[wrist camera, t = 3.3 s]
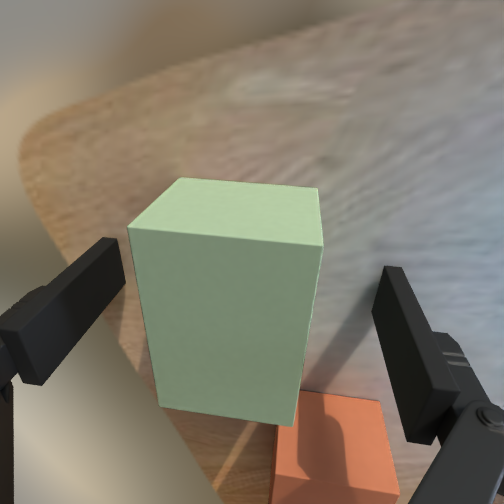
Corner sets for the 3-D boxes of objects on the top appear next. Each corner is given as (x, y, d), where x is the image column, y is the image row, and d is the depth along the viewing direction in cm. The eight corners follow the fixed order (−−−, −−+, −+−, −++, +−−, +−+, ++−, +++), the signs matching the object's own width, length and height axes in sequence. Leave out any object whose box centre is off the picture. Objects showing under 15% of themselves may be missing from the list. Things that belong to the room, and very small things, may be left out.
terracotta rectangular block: (281, 386, 20) (274, 473, 16) (380, 401, 20) (400, 495, 15) (271, 463, 25) (264, 546, 21) (351, 476, 24) (361, 565, 20)
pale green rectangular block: (179, 176, 14) (126, 226, 10) (318, 187, 14) (324, 245, 9) (191, 328, 19) (158, 407, 15) (295, 342, 18) (293, 428, 14)
